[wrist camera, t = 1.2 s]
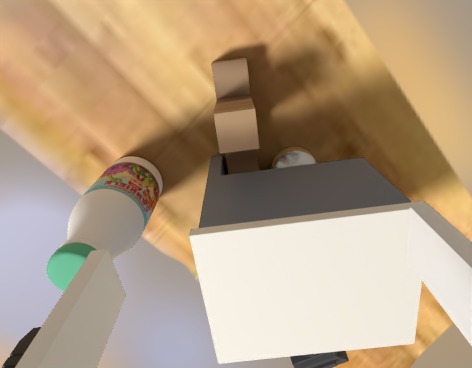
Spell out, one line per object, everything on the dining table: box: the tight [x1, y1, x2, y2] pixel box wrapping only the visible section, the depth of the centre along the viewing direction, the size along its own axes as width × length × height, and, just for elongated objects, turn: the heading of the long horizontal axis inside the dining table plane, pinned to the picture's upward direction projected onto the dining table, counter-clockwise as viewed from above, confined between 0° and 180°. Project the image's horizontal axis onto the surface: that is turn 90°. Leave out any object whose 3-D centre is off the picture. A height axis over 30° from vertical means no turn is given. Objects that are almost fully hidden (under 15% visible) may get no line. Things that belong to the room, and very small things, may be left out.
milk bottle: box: [47, 156, 163, 291], centre depth 37 cm, size 8×8×20 cm
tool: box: [290, 351, 349, 368], centre depth 51 cm, size 6×19×15 cm, turn 28°
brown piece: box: [211, 57, 259, 175], centre depth 39 cm, size 22×4×11 cm, turn 8°
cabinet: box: [189, 156, 427, 364], centre depth 38 cm, size 15×19×20 cm
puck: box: [272, 146, 317, 169], centre depth 44 cm, size 6×6×3 cm
